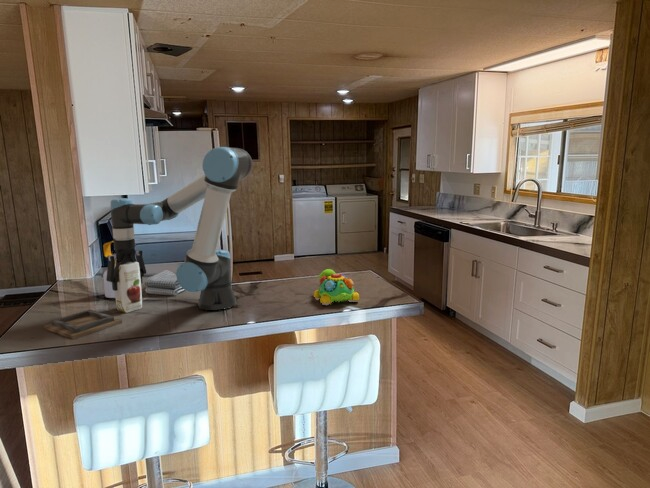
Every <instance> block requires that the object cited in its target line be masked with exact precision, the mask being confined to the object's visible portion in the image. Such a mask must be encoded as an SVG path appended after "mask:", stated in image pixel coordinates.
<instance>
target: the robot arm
mask: <svg viewBox="0 0 650 488" xmlns="http://www.w3.org/2000/svg"><path fill="white" fill-rule="evenodd" d="M253 165H254V163H253V160H252V156H251V155H250V154H249V153H248V151H246V150H244V149H243V148H239V147H229V146H219V147H214V148H211V149H210V150H209V151H208V152H206V154H205V155H204V157H203V160H202V171H203V173H204V175H201V176H200V177H199V178H197V179H195V180H193V181H192V182H191V183H189V184H187V185H186V186H184V187H182V188H181V189H179V190H178V191H176V192H174V193H173V194H171V195H170V196H168V197H166V198H165V199H163V200H161V201H160V202H159V201H156V202H151V203H141V204H139V203H136V204H135V203H133V201H132V199H131V198H127V197H126V198H125V197H121V198H112V199H111V200H110V210H109V211H110V215H111V224H112V237H113V241H114V242H113V249H114V253H113V254H112V255H111V256H109V255H108V256H107V257H106V258H107V269H106V270H107V279H106V280H107V281H109V282H112V289H113V290H114V292H115V298H114V299H116V298H118V299H121V292H120V282H118V279H119V266H120V265H124V263H126V262H138V263H139V268H140V279H141V285H143V277H145V275H146V274H147V269H146V266H145V265H146V264H145V262H144V258H143V250H139V249H137V250H136V249H135V248H136V241H135V228H134V225H148V226H151V225H158V224H160V222H164V221H171V220H173V219H175V218H177V217H178V216H179V214H180V213H182V212H184V211H185V210H187V209H189V208H191V207H192V206H193V205H196V204H197V203H198V202H200V201H202V200H203V203H202V207H201V211H200V216H199V220H198V223H197V226H196V232H195V235H194V238H193V239H194V240H193V244H192V248H191V249H189V250H187V251H186V253H185V259H184V262H182V263H181V264H179V266H178V267H177V269H176V272H175V274H176V277H177V280H178V282H179V283H180V286H181V287H182V288H183V289H185V290H184V291H187V292H190V293H198V292H200V293H199V298H198V303H197V306H199V307H198V309H200V308H201V309H200V310H202V309H206V310H205V311H207V310H217V309H224V308H228V307H231V306H233V305H235V304H236V305H237V298H236V296H235V293H234V289H233V287H232V270H231V268H232V266H231V263H232V262H231V260H232V259H231V254H230V251H228V250H227V249H218V245H219V241H220V239H221V233H222V231H223V230H222V229H223V227H224V223H225V219H226V216H227V215H226V214H227V211H228V209H229V208H228V207H229V203H230V199H231V196H232V193H234V192H235V191H237V189H238V186H239V183H240V181H242V180H244V179H246V178H247V177H248V176H249V175H250V174H251V172H252V170H253ZM115 258H117V259H115ZM115 260H116V266H115ZM114 268H115V269H114ZM142 290H143V289H142V287H141V292H142V293H143V291H142ZM236 305H235V306H236Z"/></svg>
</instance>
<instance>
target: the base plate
mask: <svg viewBox="0 0 650 488" xmlns="http://www.w3.org/2000/svg"><path fill="white" fill-rule="evenodd" d="M122 323H123V320H122V319H121V318H118V317H115V316H113V315H109V314H106V313H103V312H100V311H96V310H92V309H87V310H84V311H80V312H76V313H73V314H70V315H66V316H64V317H59V318H56V319H53V320H51V322H50V323H48V324H44V325H43V329H44V330H45V331H49V332H51V333H56V334H58V335H60V336H63V337H66V338H69V339H71V340H75V339H78V338H81V337H83V336H87V335H90V334H92V333H95V332H98V331H99V332H100V331H102V330H105V329H108V328H111V327H114V326H117V325H120V324H122Z"/></svg>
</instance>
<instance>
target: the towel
mask: <svg viewBox="0 0 650 488" xmlns="http://www.w3.org/2000/svg"><path fill="white" fill-rule="evenodd" d="M144 285H145V291H144V292H145V293H147V294H151V295H161V296H177V295H179V294H181V293H182V292H184V291H186V290H185V289H183V288H182V287H181V286H180V283H179V282H178V280H177V277H176V273H175V272H172V271H171V270H168V269H164V270H163V271H160V272H158V273H156V274H154V275H151V276H149V277H148V278H147V279H146V280H145V282H144Z"/></svg>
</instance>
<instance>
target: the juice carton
mask: <svg viewBox="0 0 650 488" xmlns="http://www.w3.org/2000/svg"><path fill="white" fill-rule="evenodd" d="M115 266H116V263H115ZM114 269H115V268H114ZM118 282H120V292H121V299H118V298H115V305H116V309H117V311H119V312H122V313H126V314H127V313H130V312H135V311H137V310H138V311H139V310H141V309H142V308H143V296H142V295H143V291H142V292H141V288H142V284H141V279H140V268H139V263H138V262H137V261H136V262H126V263H124V265H120V266H119V279H118Z"/></svg>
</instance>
